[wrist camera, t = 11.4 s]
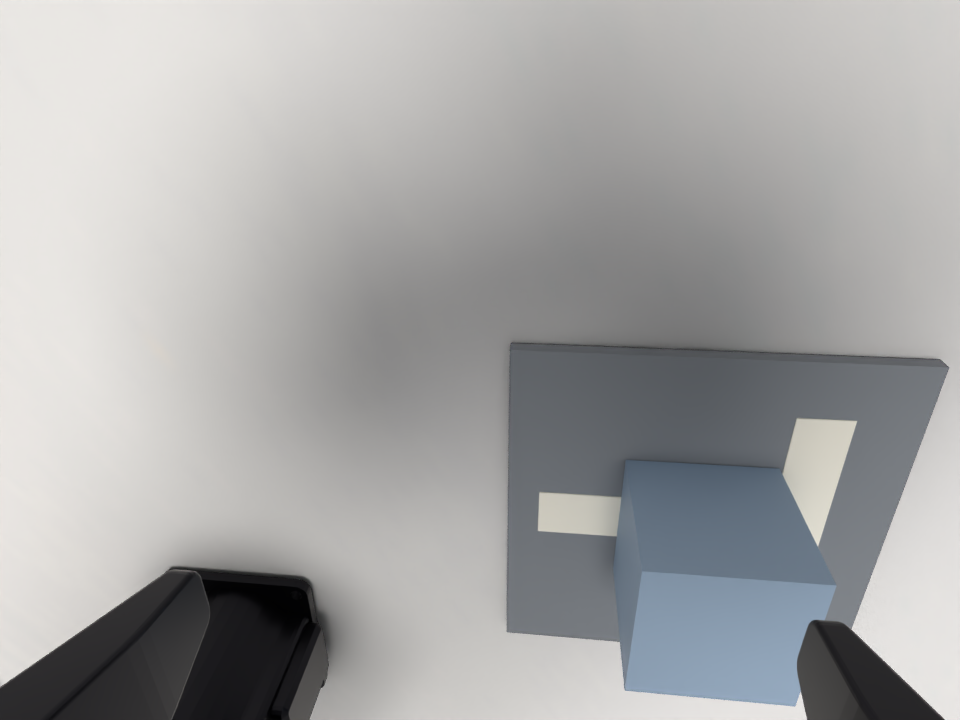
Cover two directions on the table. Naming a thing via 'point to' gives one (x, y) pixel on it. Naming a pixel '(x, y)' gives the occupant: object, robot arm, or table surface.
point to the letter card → (697, 458)
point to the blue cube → (714, 582)
